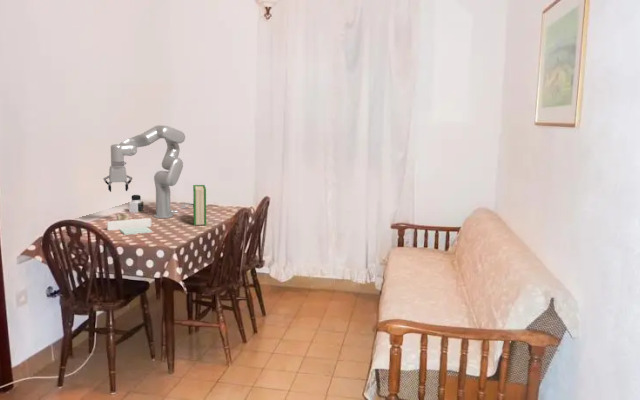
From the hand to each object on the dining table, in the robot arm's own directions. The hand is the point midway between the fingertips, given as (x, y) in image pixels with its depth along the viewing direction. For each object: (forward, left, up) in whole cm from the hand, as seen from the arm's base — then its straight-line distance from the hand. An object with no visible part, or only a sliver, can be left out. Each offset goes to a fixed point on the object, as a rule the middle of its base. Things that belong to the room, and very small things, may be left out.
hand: (118, 191), depth 341 cm
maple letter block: (-2, +1, -21) cm, 21 cm away
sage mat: (-4, +26, -21) cm, 34 cm away
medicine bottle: (-20, -37, -21) cm, 47 cm away
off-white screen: (-3, +15, -21) cm, 26 cm away
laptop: (-61, -41, -22) cm, 77 cm away
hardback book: (-47, +18, -21) cm, 55 cm away
